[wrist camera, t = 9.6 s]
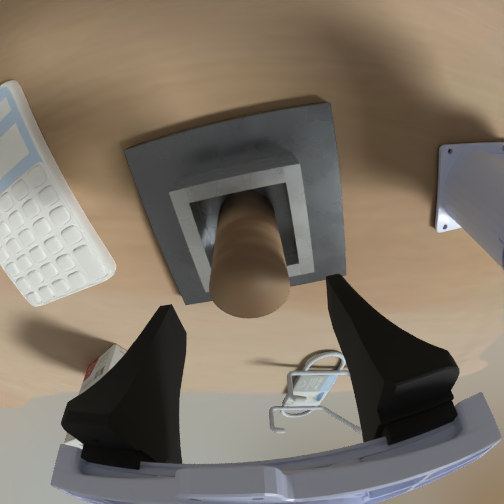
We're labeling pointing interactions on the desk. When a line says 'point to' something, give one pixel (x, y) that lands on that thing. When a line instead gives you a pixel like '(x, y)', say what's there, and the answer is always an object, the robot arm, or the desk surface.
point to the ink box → (97, 378)
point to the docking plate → (245, 179)
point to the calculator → (41, 213)
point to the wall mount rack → (310, 391)
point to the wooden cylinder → (248, 258)
